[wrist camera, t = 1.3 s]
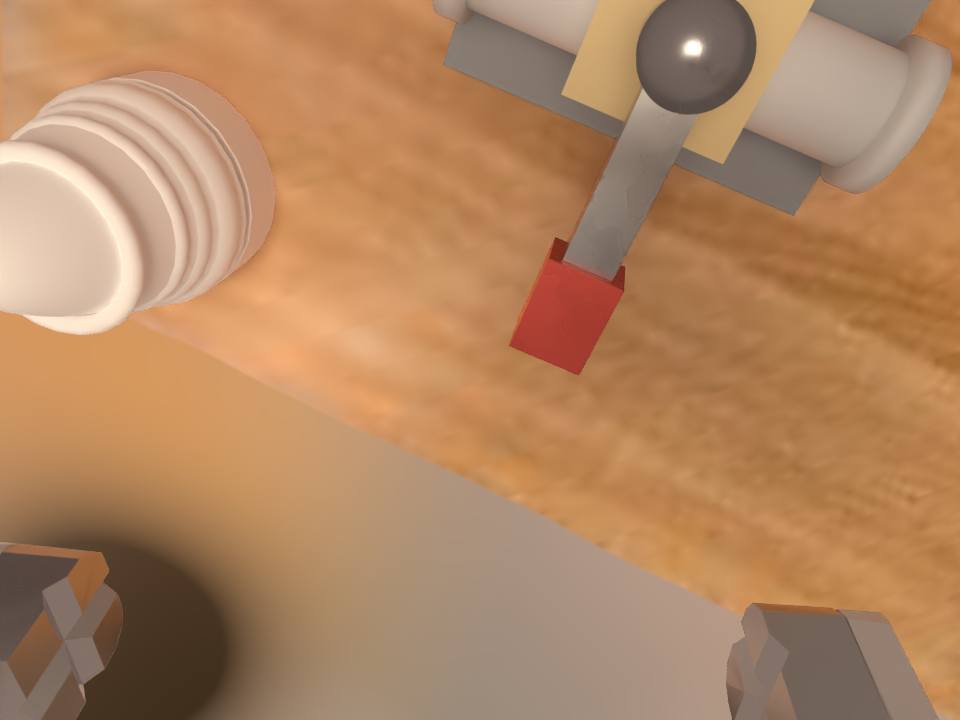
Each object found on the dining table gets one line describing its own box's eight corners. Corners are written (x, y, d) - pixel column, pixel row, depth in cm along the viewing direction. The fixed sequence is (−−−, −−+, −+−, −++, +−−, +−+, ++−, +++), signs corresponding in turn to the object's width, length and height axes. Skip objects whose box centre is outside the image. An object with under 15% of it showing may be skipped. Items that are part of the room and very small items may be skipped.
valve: (937, -29, 32) (1098, -24, 21) (788, 207, 39) (851, 308, 27) (534, -206, 32) (478, -297, 21) (449, 61, 38) (371, 102, 27)
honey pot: (125, 276, 49) (-109, 419, 34) (54, 79, 43) (-270, 143, 28) (295, 272, 46) (126, 425, 31) (246, 61, 40) (5, 121, 25)
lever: (667, -32, 23) (669, -31, 21) (768, 13, 23) (781, 17, 21) (511, 316, 30) (502, 342, 28) (589, 350, 30) (585, 378, 28)
